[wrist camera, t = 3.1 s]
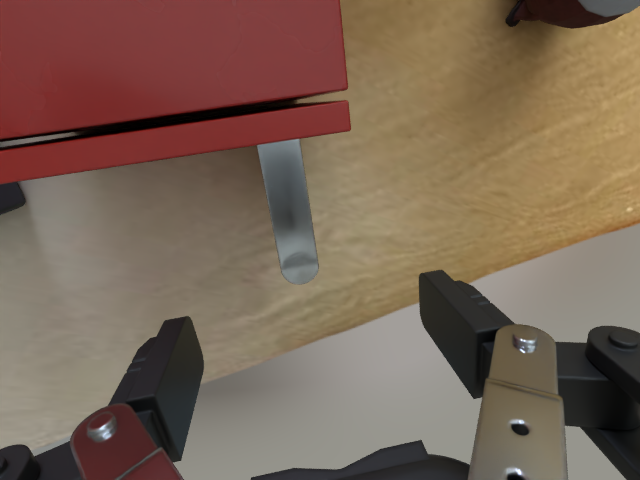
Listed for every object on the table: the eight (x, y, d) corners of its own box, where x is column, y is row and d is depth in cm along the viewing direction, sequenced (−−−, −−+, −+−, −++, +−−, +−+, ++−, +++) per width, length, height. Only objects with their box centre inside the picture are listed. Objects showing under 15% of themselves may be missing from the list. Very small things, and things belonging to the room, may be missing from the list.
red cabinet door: (312, 198, 28) (369, 322, 12) (109, 232, 27) (-125, 419, 11) (298, 103, 25) (348, 99, 9) (73, 135, 24) (-307, 194, 8)
